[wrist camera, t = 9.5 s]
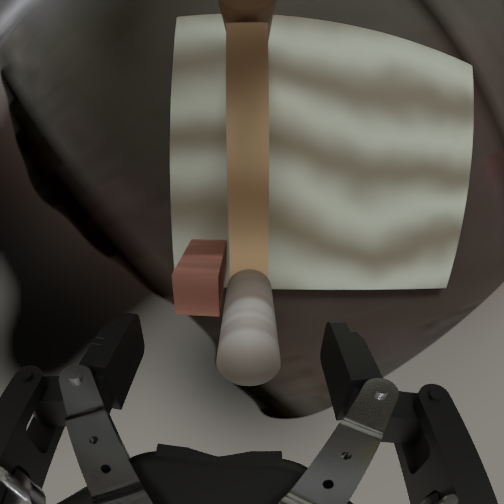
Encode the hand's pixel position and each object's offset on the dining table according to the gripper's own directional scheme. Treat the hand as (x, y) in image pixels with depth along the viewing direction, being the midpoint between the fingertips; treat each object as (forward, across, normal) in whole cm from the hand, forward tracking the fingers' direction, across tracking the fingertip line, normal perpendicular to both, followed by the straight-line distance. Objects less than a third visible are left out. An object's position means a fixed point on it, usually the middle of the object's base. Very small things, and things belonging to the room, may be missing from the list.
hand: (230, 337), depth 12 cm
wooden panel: (+13, -1, -5) cm, 14 cm away
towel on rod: (+15, -8, -7) cm, 18 cm away
